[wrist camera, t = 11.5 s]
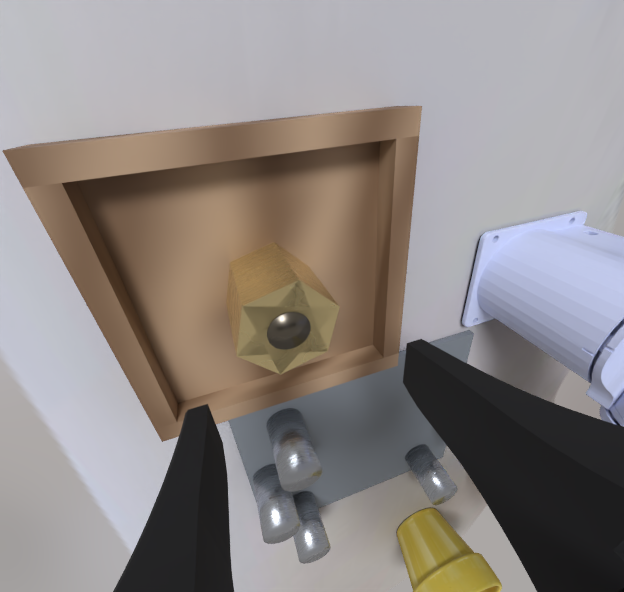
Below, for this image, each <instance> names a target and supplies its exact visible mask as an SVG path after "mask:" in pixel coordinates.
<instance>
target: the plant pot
mask: <svg viewBox="0 0 624 592" xmlns="http://www.w3.org/2000/svg"><path fill="white" fill-rule="evenodd" d="M397 537H398V540H399V544H400V547H401V550H402V554H403V557H404V561H405V564H406V568H407V571H408V574H409V578H410V581H411V585H412V588H413V592H500V591H501V589H502V585H501V583H500V581H499V579H498V578H497V576H496V575H495V573H494V572H493V570H492V569H491V568H490V566H489V564H488V563H487V562H486V560H485V559H484V557H483V556H482V555H481V554H479V553H474V552H473V550H472V549H471V548H470V547H469V546H468V545H467V544H466V543H465V541H464V540H463V539H462V538H461V537H460V536H459V535H458V534H457V532H456V531H455V530H454V529H453V528H452V527H451V526H450V525H449V523H448V522H447V521H446V520H445V519H444V518H443V517H442V515H441V514H440V513H439V512H438V511H437V510H436V509H434V508H426V509H423V510H420V511H418V512H416V513H414V514H412V515H411V516H410V517H408V518H407V519H406V520H405V521H403V522H402V524H401V525H400V526H399V528H398V530H397Z"/></svg>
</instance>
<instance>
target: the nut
mask: <svg viewBox="0 0 624 592" xmlns="http://www.w3.org/2000/svg"><path fill="white" fill-rule="evenodd" d="M226 306H227V311H228V316H229V321H230V326H231V331H232V336H233V341H234V346H235V351H236V356H237V357H239V358H242V359H244V360H247V361H249V362H251V363H254V364H256V365H259V366H261V367H264V368H266V369H268V370H271V371H273V372H276V373H278V374H280V375H281V374H283V373H285V372H287V371H289V370H291V369H293V368H295V367H297V366H299V365H301V364H303V363H305V362H307V361H309V360H311V359H313V358H315V357H317V356H319V355H321V354H323V353H325V352H327V351H328V348H329V345H330V341H331V337H332V334H333V330H334V326H335V323H336V319H337V315H338V312H339V308H340V306H339V305H338V304H337V302H336V301H335V300H334V298H333V297H332V296H331V295H330V293H329V292H328V291H327V289H326V288H325V287H324V285H323V284H322V283H321V282H320V280H319V279H318V278H317V276H316V275H315V274H314V272H313V271H312V270H311V268H310V267H309V266H308V265H306V264H305V263H303V262H302V261H301V260H299V259H298V258H296V257H295V256H293V255H292V254H291V253H289V252H288V251H286V250H285V249H284V248H282V247H281V246H279V245H278V244H277V243H275V242H274V243H271V244H269V245H267V246H265V247H262V248H260V249H258V250H256V251H253V252H251V253H249V254H247V255H245V256H242V257H240V258H238V259H236V260H233V261H231V262H230V266H229V278H228V290H227V301H226Z"/></svg>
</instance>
